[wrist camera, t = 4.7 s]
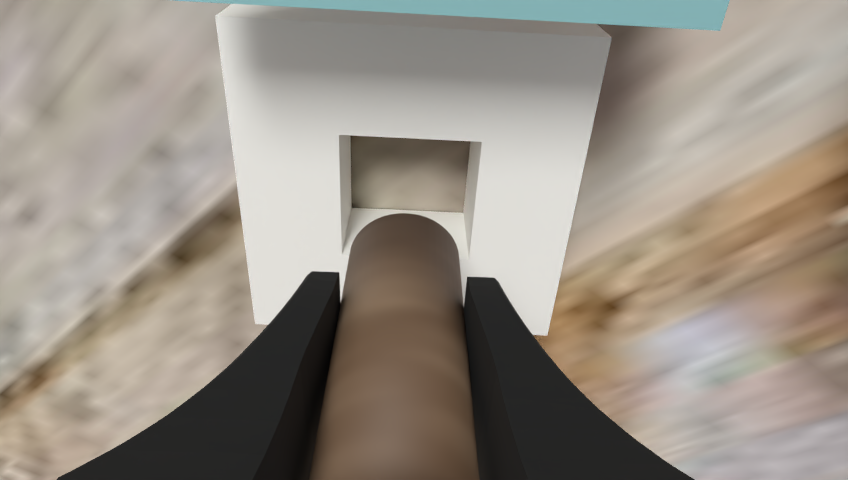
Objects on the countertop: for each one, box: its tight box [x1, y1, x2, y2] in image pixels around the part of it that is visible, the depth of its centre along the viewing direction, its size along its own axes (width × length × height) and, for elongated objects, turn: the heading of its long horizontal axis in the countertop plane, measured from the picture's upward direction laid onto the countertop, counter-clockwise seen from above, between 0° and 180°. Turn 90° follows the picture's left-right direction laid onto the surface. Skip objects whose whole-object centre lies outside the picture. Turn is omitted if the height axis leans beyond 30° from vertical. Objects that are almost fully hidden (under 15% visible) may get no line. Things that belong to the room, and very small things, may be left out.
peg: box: [309, 213, 479, 480], centre depth 12 cm, size 3×3×7 cm
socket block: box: [215, 4, 612, 335], centre depth 19 cm, size 10×10×3 cm
